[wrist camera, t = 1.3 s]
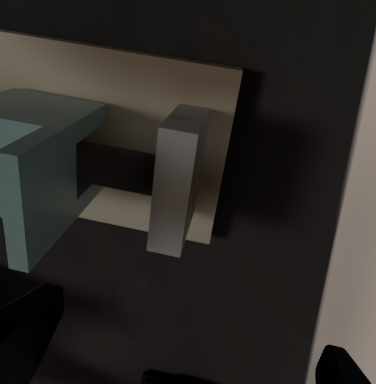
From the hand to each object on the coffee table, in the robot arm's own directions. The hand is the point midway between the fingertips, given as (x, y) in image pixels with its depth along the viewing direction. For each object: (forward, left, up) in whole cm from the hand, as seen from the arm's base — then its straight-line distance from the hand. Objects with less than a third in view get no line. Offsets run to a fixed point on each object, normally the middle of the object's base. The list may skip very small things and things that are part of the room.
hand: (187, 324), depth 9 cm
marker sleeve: (0, +9, -11) cm, 14 cm away
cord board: (0, +13, -12) cm, 18 cm away
